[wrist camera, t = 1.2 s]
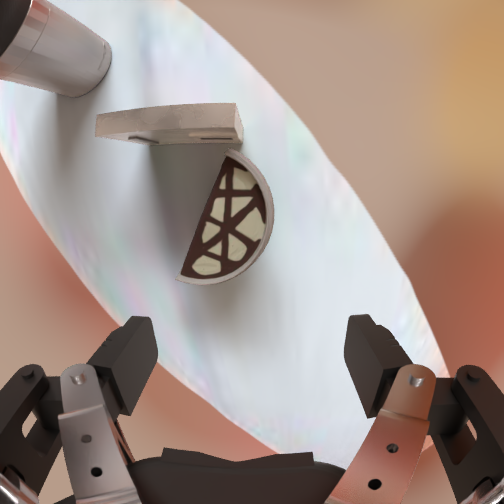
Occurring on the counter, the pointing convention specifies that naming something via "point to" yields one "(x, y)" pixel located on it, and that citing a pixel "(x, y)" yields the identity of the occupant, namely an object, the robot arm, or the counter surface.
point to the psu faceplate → (173, 124)
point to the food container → (230, 224)
